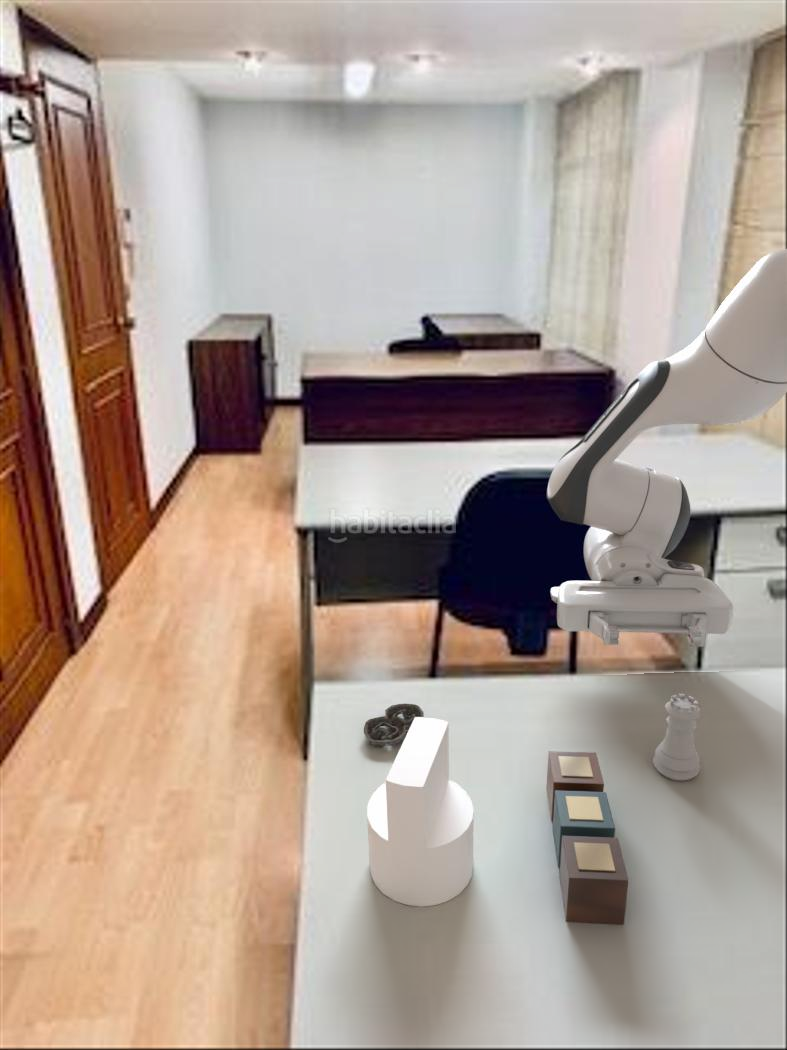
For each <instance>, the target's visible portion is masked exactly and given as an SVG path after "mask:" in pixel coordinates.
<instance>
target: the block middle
mask: <svg viewBox="0 0 787 1050" xmlns="http://www.w3.org/2000/svg"><path fill="white" fill-rule="evenodd" d="M615 835H616V827H615V823H614V818H613V814H612V810H611V807H610V803H609V799H608V795H607V792H606V791H603V792H588V791H559V790H555V796H554V814H553V822H552V836H553V842H554V848H555V855H556V856H555V857H556V863H557V868H559V869H560V861H561V845H562V836H587V837H612V838H615Z"/></svg>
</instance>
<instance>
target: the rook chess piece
mask: <svg viewBox="0 0 787 1050" xmlns="http://www.w3.org/2000/svg"><path fill="white" fill-rule="evenodd" d="M677 696H678V697H677ZM670 697H671V698H670V699H669V701H667V702H666V703H665V705H664V707H665V711H666V712H667V713H668V715H667V717H666V719H665V721H666V724H667V728H666V732H665V735H664V738H663V739H662V740H661V741H660V743H659V744H658V745H657V747H656V749H655V751H654V757H653V758H652V762H653V763H652V764H653V766H654V767H655V769H656V770H657V772H658V773H660V775H662V776H664V777H665V778H667V779H670V780H672V781H678V782H685V781H689V780H692V779H693V778H694V777H696V776H698V775H699V772H700V770H701V769H700V763H701V759H700V756H699V753H698V751H697V748H696V746H695V743H694V742H695V741H694V731H695V729H696V728H697V726H698V725H697V722H696V720H697V718H699V717H700V716H701V713H702V712H701V709H700V707H699V706H698V705H699V703H698V700H695V697H693V696H692V695H688V697H687V698H686V697H685V693H679V694H678V695H677V694H673V695H671V696H670Z"/></svg>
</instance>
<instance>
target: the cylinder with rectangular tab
mask: <svg viewBox="0 0 787 1050" xmlns="http://www.w3.org/2000/svg"><path fill="white" fill-rule="evenodd" d="M449 725H450V724H449V721H447V720H444V719H439V718H435V717H427V716H426V717H425V716H424V717H415V718H414V720H413V722H412V724H411V726H410V729H409V730H407V733H406V734H405V736H404V738H403V741H402V744H401V746H400V748H399V750H398V752H397V755H396V756H395V759H394V761H393V763H392V765H391V767H390V769H389V771H388V774H387V775H386V778H385V782H384V783H383V784H381V785H380V786H379V787H378V788H377V789H376V790H374V791H373V793H372V795H371V796H370V798H369V799H368V803H367V807H366V819H367V838H368V840H367V841H368V858H369V860H368V861H369V869H370V870H369V872H370V876H371V878H372V879H371V880H372V881H373V883H374V885H375V886H376V887H377V888H378V890H379V891H380V892H381V893H382V894H383V895H385V896H386V897H388V898H390V899H391V900H392V901H394V902H397V903H400V904H403V905H406V906H412V907H422V908H423V907H431V906H437V905H441V904H444V903H447V902H449V901H451V900H452V899H453V898H456V897H457V896H459V895H460V894H461V893H462V892H463V891H464V889H466V887H467V886H469V883H470V880H471V878H472V876H473V872H474V871H473V870H474V824H475V823H474V822H475V821H474V820H475V819H474V818H475V817H474V813H475V811H474V805H473V801H472V798H471V797H470V795H469V794H468V793H467V791H466V790H465V789H464V788H463V787H461V785H459V784H458V783H456V782H454V781H453V780H451V779H450V766H449V765H450V753H449V752H450V751H449V750H450V749H449V748H450V747H449V745H450V744H449V741H450V739H449V731H450V729H449Z"/></svg>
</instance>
